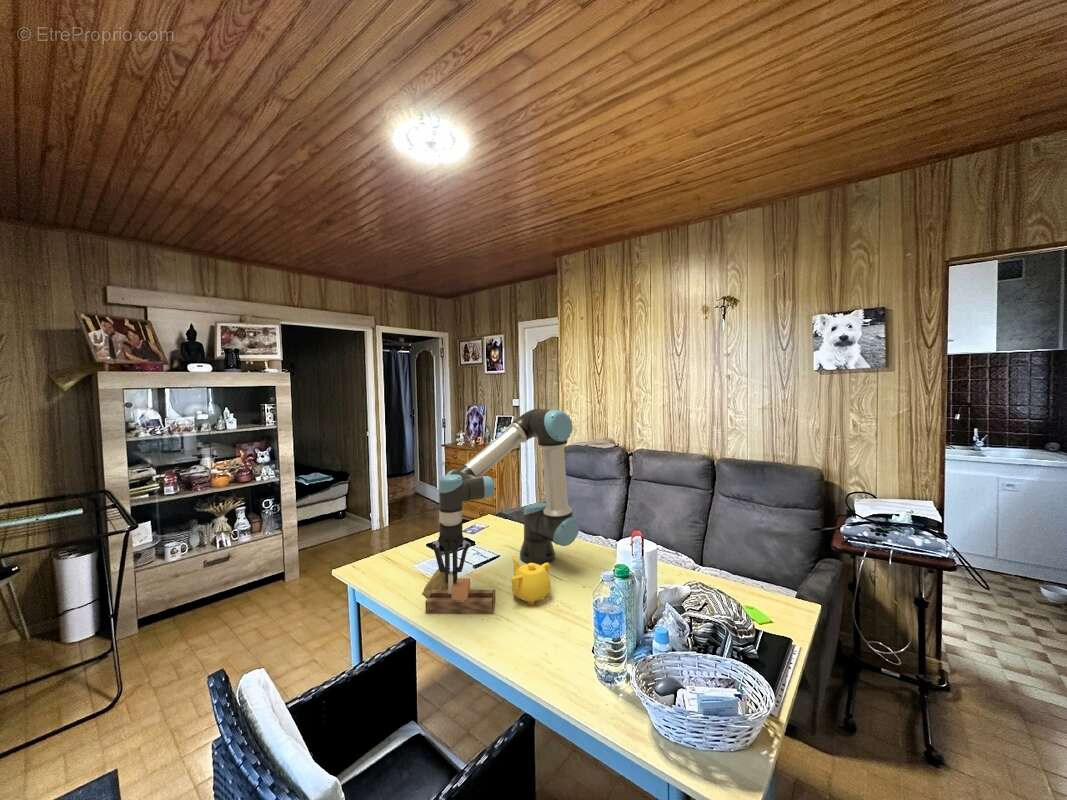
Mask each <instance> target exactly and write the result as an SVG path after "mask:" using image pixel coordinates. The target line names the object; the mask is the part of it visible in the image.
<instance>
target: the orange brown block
mask: <svg viewBox="0 0 1067 800" xmlns="http://www.w3.org/2000/svg"><path fill="white" fill-rule="evenodd" d="M470 590H471V578H470V577H466V578H465V577H464V578H463V577H460V578H459V577H457V582H456V583H453V586H452V600H467V599H468V595H469V592H470Z"/></svg>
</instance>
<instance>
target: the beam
mask: <svg viewBox="0 0 1067 800" xmlns="http://www.w3.org/2000/svg"><path fill="white" fill-rule="evenodd" d="M426 597H427V596H426ZM495 604H496V589H495V588H493V589H470V592H469V595H468V599H467V600H452V594H448V590H431V591H430V593H429V595H428V597H427V598H426V599H425V606H424V607H425V614H427V615H435V614H436V615H438V614H439V615H440V614H441V615H445V614H446V615H448V614H449V615H450V614H451V615H453V614H454V615H455V614H456V615H457V614H458V615H461V614H463V615H468V614H469V615H472V614H473V615H479V614H480V615H481V614H483V615H484V614H486V615H487V614H489V615H490V614H493V615H494V610H495V606H496V605H495Z"/></svg>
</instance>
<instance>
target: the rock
mask: <svg viewBox="0 0 1067 800" xmlns="http://www.w3.org/2000/svg"><path fill="white" fill-rule="evenodd" d="M431 590H448V583H446V582H445V573H444V572H440V571H439V568H437V570H436V571H435V572H434V573H433V574H432V576H431V578H430V580H428V582H427V583H426V585H425V586H424V588H423V591H422V593H421V595H424V596H425V597H428V595H429V593H430V591H431Z"/></svg>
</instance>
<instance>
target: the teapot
mask: <svg viewBox="0 0 1067 800" xmlns="http://www.w3.org/2000/svg"><path fill="white" fill-rule="evenodd" d="M511 559H512V560H513V576H512V577H511V580H510V581H511V591H512V593H513V594H514V596H515V597H517V598H516V599H518V600H522V601H525V602H527V605H529V606H533V604H534V603H535V602H536V601H540V600H543V599H542V598H545V599H547V595H548V594H549V593H550V592H551V589H552V583H551V579H550V576H549V573H550V570H551V569H550V568H551V564H550V563H544V564H540V565H538V564H535V563H526V564H523V565H521V566H520V563H519V561H518V558H516V557H515V556H511ZM534 605H535V604H534Z"/></svg>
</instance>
